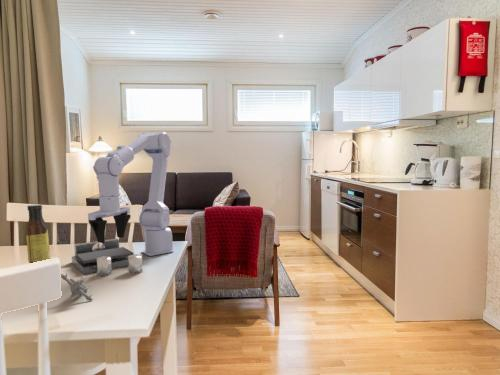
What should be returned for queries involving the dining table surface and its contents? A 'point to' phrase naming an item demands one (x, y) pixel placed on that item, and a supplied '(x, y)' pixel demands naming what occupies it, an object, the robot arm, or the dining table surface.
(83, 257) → the pan
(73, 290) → the grey piece
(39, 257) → the sauce bottle
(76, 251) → the scale
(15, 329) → the dining table surface
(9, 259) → the dining table surface
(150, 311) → the dining table surface
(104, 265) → the steel spacer
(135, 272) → the steel spacer
